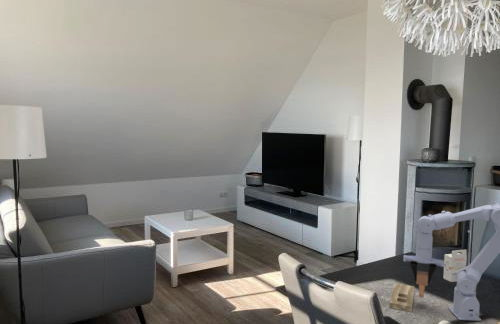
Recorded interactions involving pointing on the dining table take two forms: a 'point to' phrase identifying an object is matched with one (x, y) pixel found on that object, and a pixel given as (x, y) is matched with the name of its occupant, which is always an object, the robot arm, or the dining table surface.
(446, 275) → the ink cartridge box
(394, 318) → the dining table surface
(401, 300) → the rail
